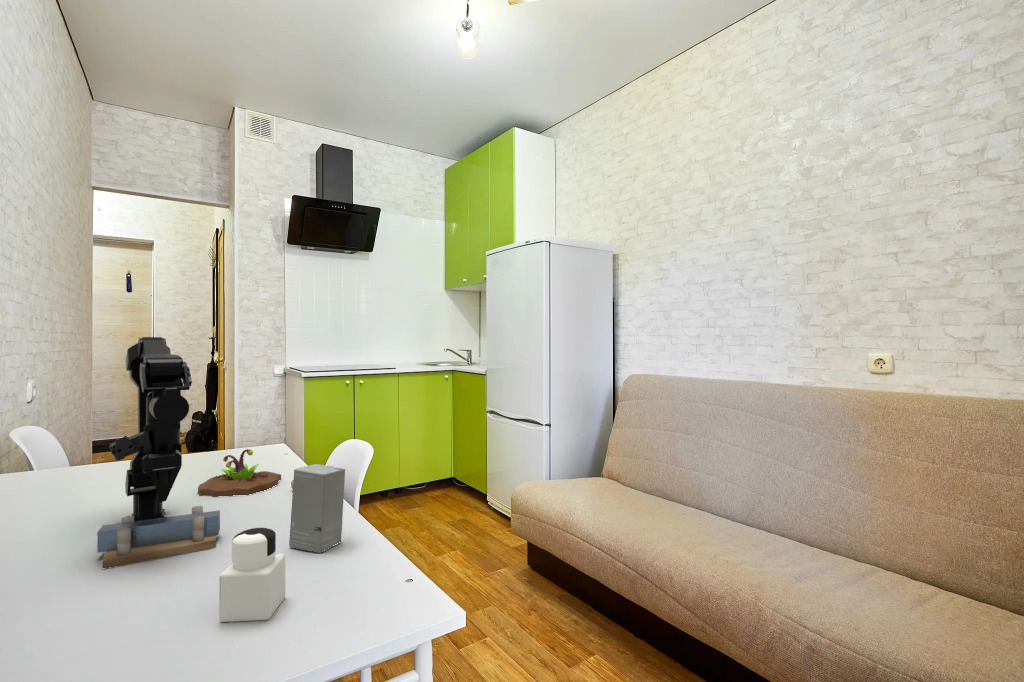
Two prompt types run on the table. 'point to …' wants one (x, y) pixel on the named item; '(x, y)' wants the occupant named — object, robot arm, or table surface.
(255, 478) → the plant
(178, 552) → the peg rack
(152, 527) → the steel bar
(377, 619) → the table surface
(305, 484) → the skincare box
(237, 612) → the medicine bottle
